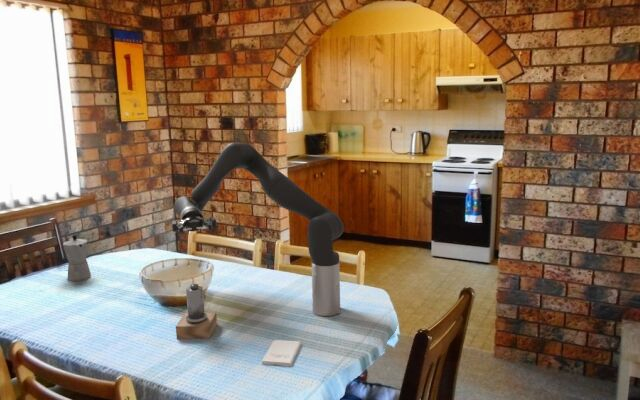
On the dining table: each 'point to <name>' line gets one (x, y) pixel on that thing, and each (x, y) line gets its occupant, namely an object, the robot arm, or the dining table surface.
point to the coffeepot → (77, 259)
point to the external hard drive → (281, 353)
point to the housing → (195, 304)
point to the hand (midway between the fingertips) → (196, 229)
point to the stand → (196, 328)
